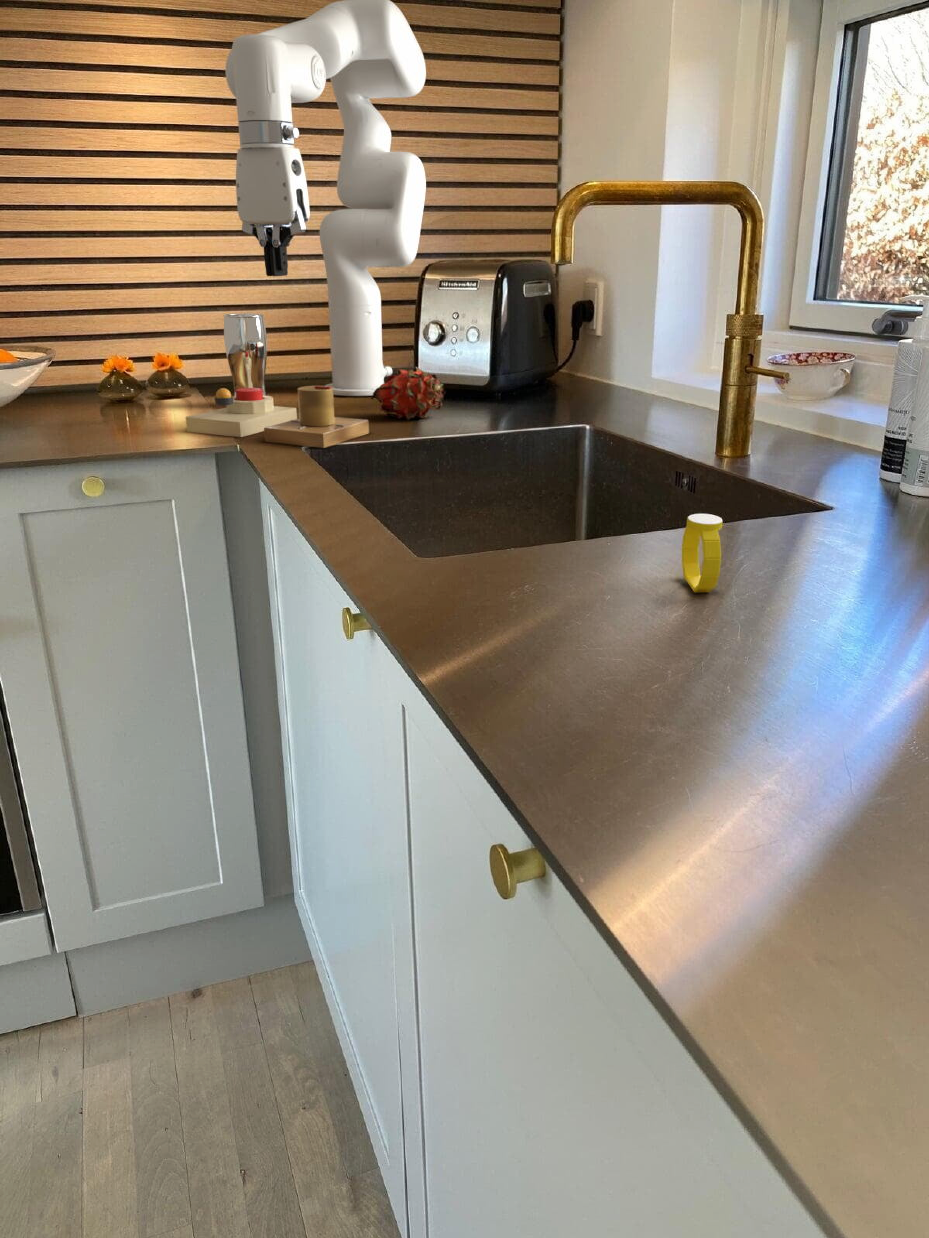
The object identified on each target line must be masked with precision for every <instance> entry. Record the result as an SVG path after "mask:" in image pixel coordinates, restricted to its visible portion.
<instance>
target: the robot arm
mask: <svg viewBox="0 0 929 1238" xmlns="http://www.w3.org/2000/svg"><path fill="white" fill-rule="evenodd" d="M426 68H427V66H426V60H425V57H424V53H423V51H422V48H421V46H420V44H419V42H418V40H417V38H416V35H415V34H414V32H413V30H412V28H411V27H410V24H409V22H408V20H407V18H406V17H405V15H404V14H403V12H402V11H401V9H400V8H399V7H398V6H397V5H396V3H394V2H393V1H391V0H338V1H334V2H330V3H329V4H327V5H325V6H323V7H322V8H321V9H319V10H318V11H316V12H315V13H313V14H311V15H309V16H308V17H306V18H304V19H301V20H297V21H293V22H290V23H287V24H285V25H282V26H280V27H279V26H278V27H276V28H272V29H269V30H268V29H267V30H265V31H261V32H258V33H255V34H243V35H240V36H237V37H236V38H235V39H234V40H233V42H232V45H231V50H230V52H229V53H228V55H227V58H226V63H225V69H224V70H225V71H224V72H225V79H226V83H227V87H228V89H229V90H230V91H229V92H230V93H231V94H232V95H233V96H234V97H235V100H236V101H235V102H236V112H237V113H236V114H237V125H238V136H239V147H240V148H238V149H237V153H236V166H235V194H236V195H235V196H236V207H237V214H238V218H239V220H240V221H241V230H242V232H243V233H245V234H249V235H253V236H254V237H255V238H256V240H257V241H258V244H259V247H261V248H263V256H264V257H263V258H264V268H265V274H266V276H267V277H285V276H288V273H289V272H288V269H289V262H288V251H287V250H288V249H287V248H288V247H290V245H291V241H292V239H293V238H294V236H297V235H299V234H303V233H305V232H306V231H307V226H306V223H308V221H310V218H311V217H310V216H311V209H310V198H309V191H308V184H307V183H308V182H307V177H306V171H305V166H304V162H303V157H302V154H301V151H300V148H296V147H295V139H297V138H299V136H300V131H299V129H298V127H294V123H293V113H292V112H293V111H292V104H304V103H309V102H312V101H315V100H316V99H318V98H319V97H320V96H321V95H322V93H323V92H324V90H325V87H326V83H327V80H328V79H330V83H331V87H332V91H333V95H334V97H335V101H336V104H337V107H338V111H339V113H340V117H341V120H342V124H343V139H342V145H341V153H340V157H339V165H338V172H337V178H336V179H337V180H336V191H337V192H336V194H337V197H338V200H339V201H340V203H341V204H342V205H343V206H344V207H346V208H343V209H337V210H333V211H331V212H329V213H328V214H326V215H325V216H324V218H322V220H321V222H320V226H319V243H320V247H321V252H322V257H323V262H324V268H325V273H326V274H325V275H326V284H327V296H328V297H327V300H328V319H329V321H328V323H329V341H330V359H331V362H330V363H331V379H332V380H331V381H332V382H331V383H327V384H325V385H324V386H329V387H332V388H333V396H339V397H371V396H372V395H373V392H374V391H375V390H376V389H377V388H379V387H380V386H381V385H382V384H384V383H385V378H388V377H389V376H393V369H392V367H391V366H389V365H386V366H384V362H383V332H382V331H383V330H382V329H383V328H382V295H381V291H380V288H379V286H378V284H377V282H376V280H375V279H374V278H373V276H372V275H371V273H370V271H368V268H403V267H407V266H409V265H412V263H413V262H414V261H415V260H416V257H417V253H418V249H419V243H420V238H421V237H420V236H421V230H422V222H423V215H424V208H425V202H426V201H425V200H426V192H427V181H426V172H425V171H426V170H425V167H424V165H423V161H422V160H421V159H420V157H418V156H417V155H416V154H414V153H412V152H410V151H398V150H397V151H391V145H392V131H391V128H390V126H389V124H388V123H387V121H386V120H385V118H384V116H383V115H382V114H381V113H380V112H379V110H378V109H377V108H376V107H375V106H374V105H373V103H372V102H371V100H370V99H396V98H398V99H399V98H400V99H402V98H411V97H412V98H413V97H415V96H417V95H418V94H419V93H421V91H422V90H423V89H424V86H425V84H426V83H425V82H426V79H427V69H426Z"/></svg>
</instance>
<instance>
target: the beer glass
mask: <svg viewBox="0 0 929 1238" xmlns="http://www.w3.org/2000/svg"><path fill="white" fill-rule="evenodd" d="M267 337H268V336H267V329H266V323H265V315H264V313H226V314H224V315H223V339H224V341H223V342H224V347H225V348H224V349H225V353H226V354H225V355H226V359H227V363H228V367H229V370H230V374H231V377H232V384H233V397H234V396H236V389H240V388H261V389H262V392H263V395H264V396H268V394H267V390H266V370H267V360H268V359H267V358H268V338H267Z"/></svg>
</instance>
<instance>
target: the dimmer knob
mask: <svg viewBox="0 0 929 1238" xmlns="http://www.w3.org/2000/svg"><path fill="white" fill-rule="evenodd" d="M334 396H335V395H333V388H332V387H329V386H325V385H305V386H300V387H298V388H297V397H298V398H297V399H298V400H297V401H298V416H299V418H300V424H301V425H304V426H328V425H332V424H334V423H335V417H336V416H335V398H334ZM299 418H298V419H299Z"/></svg>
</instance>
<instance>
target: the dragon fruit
mask: <svg viewBox="0 0 929 1238" xmlns="http://www.w3.org/2000/svg"><path fill="white" fill-rule="evenodd" d="M414 369H415V371H413V369H409V370H407V369H400V368H399V369H397V370H396V372H397V374H394V375H393V374H392V375H391V376H388V377H387V379H386V381H385V382H384V384H382V385H381V386H380V387H379V388H377V389H376V390H375V391H374V392H373V395H372V396H370V399H371V401H373V400H374V399H376V401H378V402H380V403H381V404H379V407H378V408H379V411H380V412H383V413H385V414H386V416H388V417H393V418H396V419H397V418H398V419H400V418H404V417H405V418H406V420H407V421H410V420H411V419H412V418H415V417H416V416H417V418H420V419H425V418H427V417H428V412H429V411H430V410H434V411H437V410H440V409H441V407H443V402H442V401H443V399H444V396H445V394H446V392H447V391H446V389H445V388H444V384H443V383H442V382H441V381H440V380H439V379H438V377H437V375H436V374H435V373H430V372H428V371H423V370H422V369H421V368H419V367H417V366H415V367H414Z"/></svg>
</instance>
